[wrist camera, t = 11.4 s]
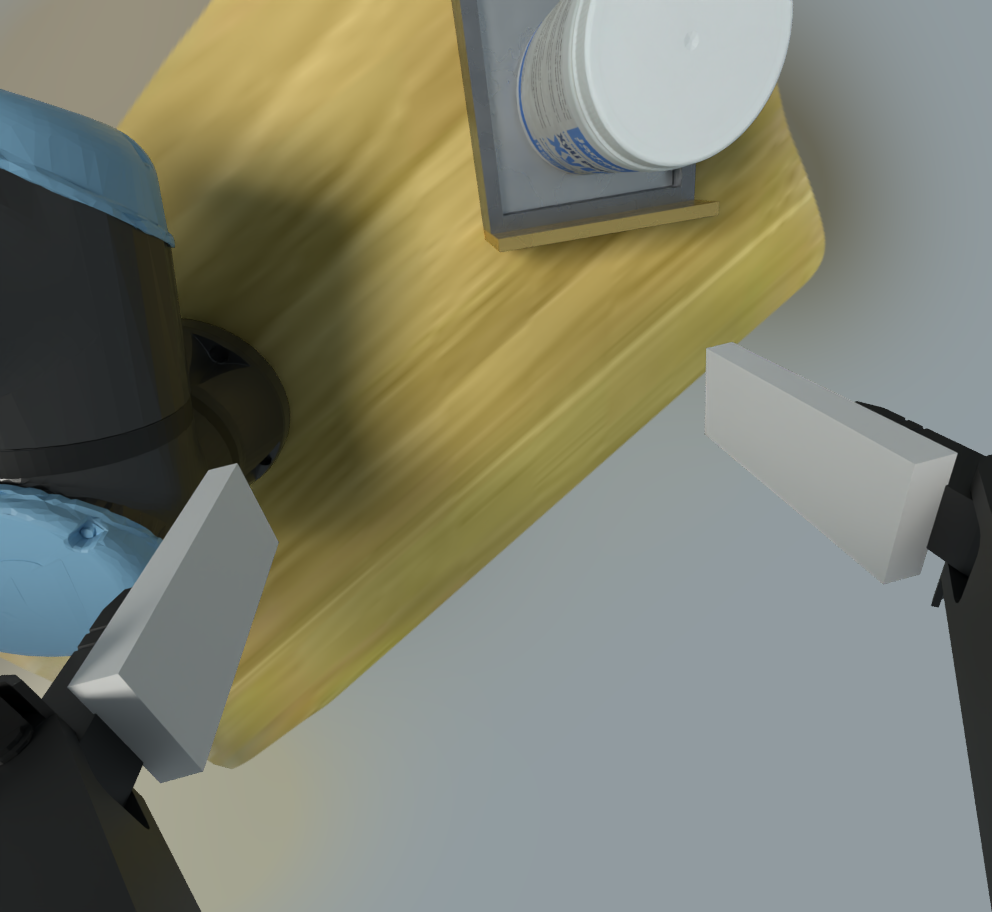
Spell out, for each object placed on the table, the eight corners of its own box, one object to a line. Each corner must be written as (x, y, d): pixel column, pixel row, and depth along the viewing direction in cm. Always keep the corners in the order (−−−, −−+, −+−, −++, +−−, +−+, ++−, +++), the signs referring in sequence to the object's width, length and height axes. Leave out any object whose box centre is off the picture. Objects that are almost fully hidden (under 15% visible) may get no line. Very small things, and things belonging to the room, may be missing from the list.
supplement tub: (519, 182, 36) (578, 183, 23) (507, 8, 31) (571, -110, 19) (651, 166, 37) (779, 158, 24) (658, -7, 32) (821, -130, 19)
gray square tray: (485, 239, 41) (499, 252, 34) (448, -23, 33) (457, -78, 26) (667, 208, 41) (718, 214, 34) (672, -55, 34) (740, -116, 27)
